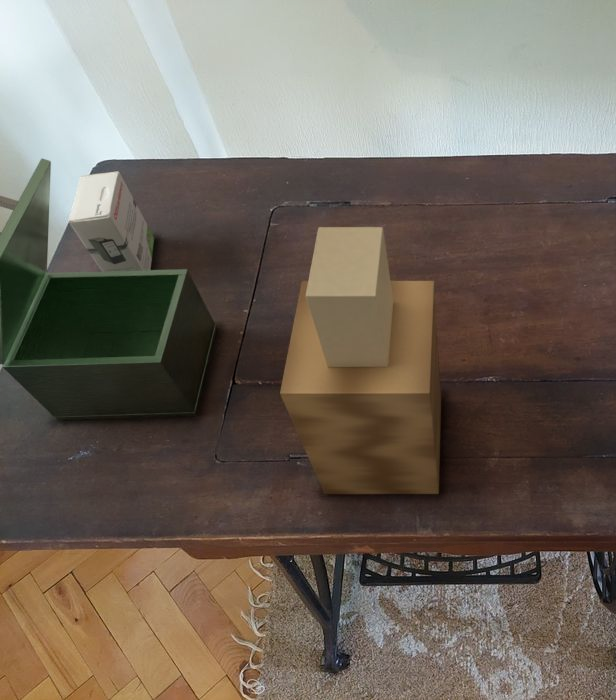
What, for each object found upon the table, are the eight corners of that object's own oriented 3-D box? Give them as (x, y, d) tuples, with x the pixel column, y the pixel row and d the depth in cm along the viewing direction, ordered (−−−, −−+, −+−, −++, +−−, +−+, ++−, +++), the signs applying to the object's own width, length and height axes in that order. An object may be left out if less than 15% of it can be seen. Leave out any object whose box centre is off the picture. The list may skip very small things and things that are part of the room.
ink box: (119, 242, 90) (77, 173, 80) (156, 237, 90) (119, 168, 81) (111, 288, 85) (65, 221, 75) (150, 283, 85) (110, 215, 76)
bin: (217, 328, 81) (187, 268, 72) (196, 416, 74) (160, 362, 65) (91, 331, 81) (45, 272, 72) (57, 420, 73) (1, 366, 64)
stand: (324, 494, 68) (279, 393, 52) (337, 396, 75) (301, 280, 59) (438, 494, 68) (429, 393, 52) (441, 396, 75) (434, 280, 59)
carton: (327, 367, 53) (305, 296, 46) (337, 301, 57) (318, 226, 50) (388, 367, 53) (375, 296, 46) (393, 301, 57) (382, 226, 50)
